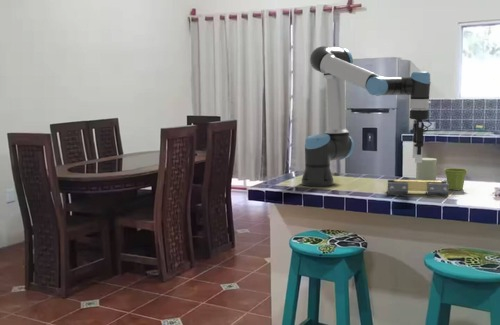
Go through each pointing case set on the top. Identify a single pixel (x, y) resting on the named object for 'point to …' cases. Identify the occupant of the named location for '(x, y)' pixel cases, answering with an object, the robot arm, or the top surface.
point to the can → (426, 169)
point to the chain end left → (397, 188)
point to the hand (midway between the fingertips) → (417, 160)
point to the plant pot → (455, 178)
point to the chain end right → (438, 189)
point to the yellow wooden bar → (417, 184)
